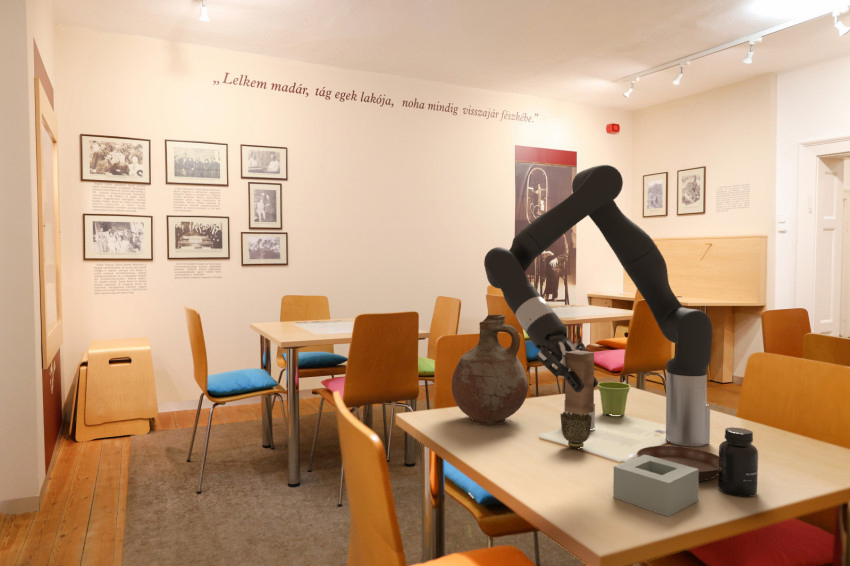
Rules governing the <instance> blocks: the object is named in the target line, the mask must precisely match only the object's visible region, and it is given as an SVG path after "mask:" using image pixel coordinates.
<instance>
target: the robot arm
mask: <svg viewBox="0 0 850 566" xmlns="http://www.w3.org/2000/svg"><path fill="white" fill-rule="evenodd" d="M623 182H624V180H623V176H622V174H621V172H620V171H619V170H618V168H616V167H615V166H613V165H610V164H598V165H594V166H591V167H589V168H586V169H583V170H581V171H579V172H577V174H575V176H574V178H573V179H572V185H571V190H572V193H571V194H570V195H569V196H567V198H565V199H563V200H562V201H561V202H560V203H558V204H557V205H555V206H553V207H552V208H550V209H549V210H547V211H546V212H544V213H543V214H541V215H539V216H538V217H537V218H535V219H534V220H533V221H532V222H530V223H529V224H528V225H526V226H525V227H524V228H523V229H522V230H520V232H518V233H517V234H516V235H515V236H514V238H513V239H512V243H511V246H510V248H509V249H507V248H506V247H505V248H504V247H500V246H498V247H493V248H492V249H490V250H489V251H488V252H487V253H486V254H485V256H484V261H483V263H484V264H483V265H484V269H485V273H486V278H487V279H486V280H487V281H488V283H489V284H490V285H491V286H492V287H494V288H496V289H500V291H501V293H502V295H503V298H504V300H505V302H506V304H507V306H508V307H509V309H510V310H511V311H512V313H513V315H514V316H515V317H516V319H517V321H518V323H519V324H520V326H521V328H522V329H523V331H524V332H525V334H526V335H527V336H528V338H529V339H530V341H531V343H532V344H533V345H534V346H535V348H536V349H537V350H539V352H538V353H537V354H536V355H535V357H536V359H537V360H538V361H539V363H541V364H542V365H543V366H544V367H546V369H547V370H549V372H550V373H551V374H552V375H553V376H555V377H557V378H558V377H559V376H561V377H562V378H563V379H564V380H565V379H566V380H567V381H568V383H569V384H570V386H571V387H572V388H573V389H574V390H575V392H580V391H581V390H582V389H583V388H584V384H583V382H582V381H581V380H580V379H579V377H578V376H577V375H576V373H575V372H572V371H573V369H572V367H571V366H570V364H569V363H568V358H567V356H566V355H565V352H569V351H576V350H580V351H587V352H588V350H587V348H586V346H585V344H584V343H583V342H579V343H578V344H576V343H574V342H573V341H572V340H571V339H569V337H567V332H568V329H567V327H566V325H565V324H564V322H562V320H561V319H560V318H559V316H558V315H557V314H556V313H557V312H555V311H554V309H553V308H552V307H551V306H550V304H549V303H548V302H547V301H546V300H545V299H544V298H543V297H542V296H541V294H540V293H539V291H538V290H537V289H536V287H535V286H534V285H533V284H532V283H531V282H530V280H529V278H528V276H527V275H526V272H527V270H528V269H529V267H530V266H531V264H533V262H534V261H535V260H536V259H537V258H538V257H539V256H541V255H543V253H544V252H545V251H546V250H547V249H548V248H550V247H551V246H552V245H553V244H554V243H556V241H558V240H559V239H560V238H561V237H563V235H565V234H566V233H567V232H569V231H570V230H571V229H572V228H573V227H574V226H575V225H577V224H579V222H580V221H582V220H583V219H585V218H587V217H588V216H589V218H590V219H591V221H592V222H593V223H594V225H596V227H597V229H599V231H600V233H601V234H602V236H603V238H604V239H605V241H606V242H607V243H608V246H609V247H610V248H611V250H612V251H613V253H614V254H615V256H616V258H617V260H618V261H619V263H620V264H621V266H622V267H623V269H624V271H625V272H626V274H627V276H628V277H629V279H630V280H631V282H632V283H633V284H634V286H635V288H636V289H637V291H638V292H639V294H640V295H641V296H642V298H643V299H644V301H645V302H646V304H647V306H648V308H649V310H650V312H651V313H652V315H653V318H654V319H655V321H656V324H657V325H658V327H659V330H660V331H661V334H662V335H663V336H664V338H665V339H667V340H668V341H669V342H671V343H673V344H676V353H675V356H674V357H672V358H671V359H668V360H667V361H666V377H665V378H666V379H665V381H666V384H665V385H666V387H665V388H666V389H665V391H666V393H665V440H666V439H668V440H669V441H670V442H669V443H670V444H673V445H676V446H681V447H702V446H705V445H708V444H709V445H710V443H711V440H710V437H711V436H710V435H711V433H710V432H711V406H710V404H707V400H708V399H707V396H708V395H707V392H708V390H707V388H708V386H707V385H708V384H707V383H708V382H707V381H708V377H707V376H708V367H709V365H710V363H711V360H712V349H713V347H712V345H713V324H712V320H711V318H710V317H709V315H708V314H707V313H706V312H704V311H702V310H700V309H696V308H695V309H694V308H687V307H684V305H683V304H682V303H681V302H680V300H679V299H678V298H677V296H676V295H675V293H674V292H673V290H672V288H671V286H670V285H671V284H670V283H669V275H668V267H667V263H666V260H665V258H664V256H663V254H662V253H661V250H659V248H658V246H657V245H656V243H655V241H654V240H653V239H652V238H651V236H650V235H649V234H648V233H647V232H646V231H645V230H644V229H642V228H641V227H640V226H639V225H638V224H636V223H635V222H634V221H632V220H631V219H629V218H628V217H627V216H626V215H625V214H624V213H623V212H622V211H621V209H620V208H619V207H618V205H617V203H616V201H615V199H616V198H618V196H619V195H620V193H621V192H622V189H623V184H624V183H623ZM598 383H599V381H598V380H597V378H596V377H595V376H594V389H595V388H596V387H598V386H597V385H598Z"/></svg>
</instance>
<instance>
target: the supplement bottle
mask: <svg viewBox="0 0 850 566" xmlns="http://www.w3.org/2000/svg"><path fill="white" fill-rule="evenodd" d="M753 437H754V433H753V431H752V430H750V429H746V428H742V427H726V428H725V429H724V439H725V440H724V441H722V442H721V443H720V444H719V446H718V447H719V448H718V456H719V469H718V475H717V477H718V478H717V480H718V481H717V485H718V489H719V490H720V491H721V492H723V493H725V494H728V495H731V496H736V497H742V498H743V497H745V498H748V497H754V496H756V495H757V493H758V477H759V476H758V474H759V473H758V472H759V469H758V468H759V450H758V449H757V447H756V446H755V445H754V444H752V443H753V442H754V438H753Z"/></svg>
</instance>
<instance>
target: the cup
mask: <svg viewBox="0 0 850 566" xmlns="http://www.w3.org/2000/svg"><path fill="white" fill-rule="evenodd" d="M559 415H560V425H561V431H562V435H563V438H564V439H565V440H566V441H567V446H568V447H569V448H571V449H573V450H579V449H578V448H580V447H583V448H584V445H585V444H584V442H586V441H588V439H589V437H590V433H591V430H590V429H591V421H592V417H591V415H590V416H589V413H587V414H586V415H584V414H583V415H580V414H575V413H572V414H570V412H568V414H566V413H565V412H564V411H562V413H559Z"/></svg>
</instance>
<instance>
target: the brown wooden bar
mask: <svg viewBox="0 0 850 566" xmlns="http://www.w3.org/2000/svg"><path fill="white" fill-rule="evenodd" d="M565 355H566V356H567V358H568V363H569V364H570V366H571V367H572V369H573V371H572V372H575V373H576V375H577V376H578V377H579V379H580V380H581V381H582V382H583V384H584V388H583V389H582V390H581V391H580V392H575V390H574V389H573V388H572V387H571V386H570V384H569V383H568V381H567V380H566V379H565V378H564V386H565V388H564V390H565V391H564V393H565V394H564V400H565V401H564V402H565V403H564V404H565V411H567V412H571V413H575V414H580V415H583V414H587V413H591V412H594V404H595V403H594V402H595V401H594V399H595V397H594V396H595V395H594V394H595V388H594V377H595V351H594V352H593V351H588V350H587V351H580V350H576V351H569V352H565Z"/></svg>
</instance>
